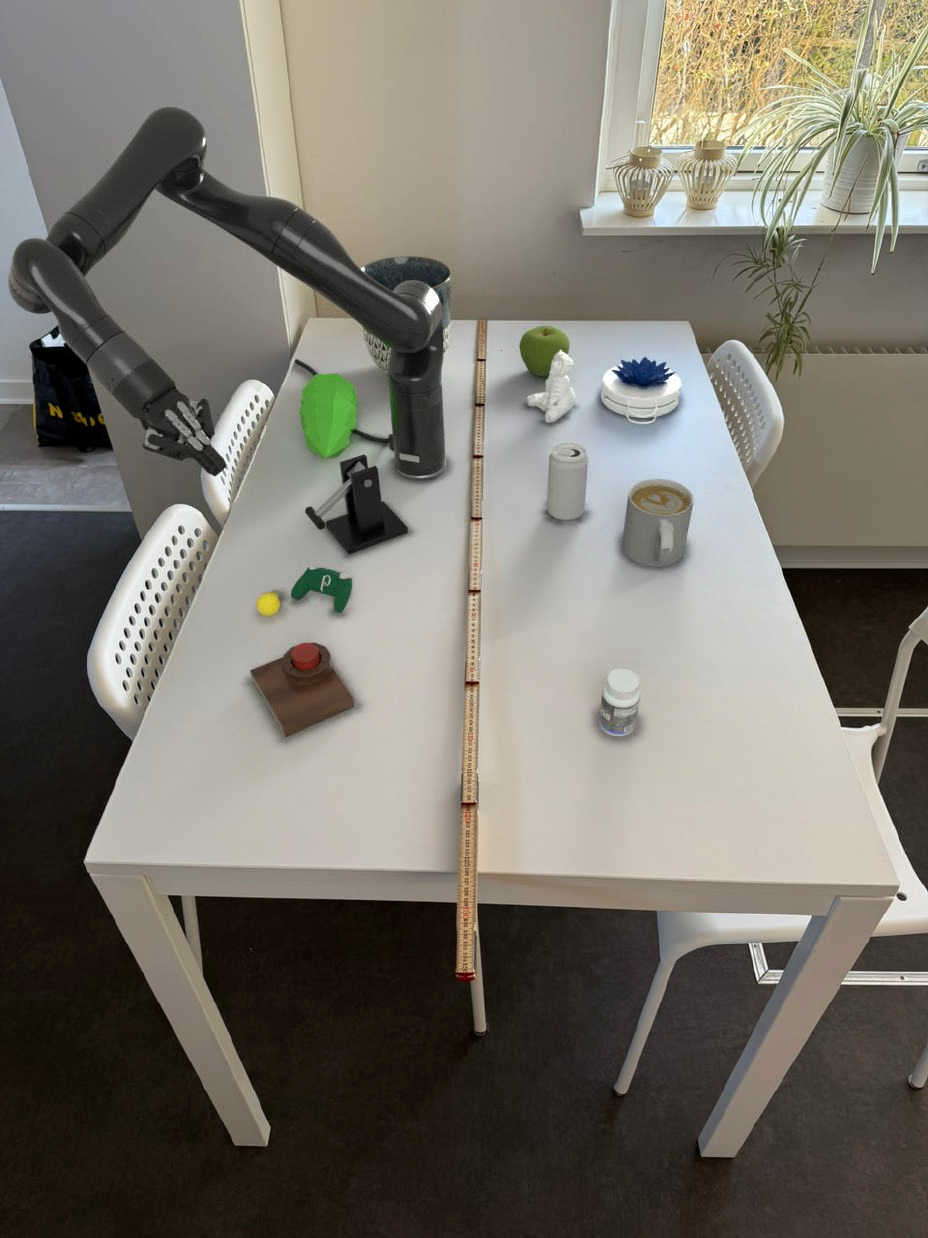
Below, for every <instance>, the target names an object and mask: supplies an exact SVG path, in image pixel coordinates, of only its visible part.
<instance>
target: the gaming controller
mask: <svg viewBox="0 0 928 1238" xmlns="http://www.w3.org/2000/svg"><path fill="white" fill-rule="evenodd" d="M290 591H291V592H290V597H291V599H293V600H296V601H299V600H302V599H303V598H304V597H305V596H306V595H307V594H308V593H310V592H311V591H312V592H313V591H314V592H316V593H320V594H323V595H326V596H329V597H332V598H334V599H333V609H334V612H335V613H338V614H341V613H342V612H343V611H344V610H345V608H346V607H347V604H348V602H349V600H350V598H351V595H352V591H353V578H352V576H351V575H349V574H348V573H343V572H339V571H336V570H333V569H330V568H326V567H320V566H319V565H317V564H311V563H310V564H309V565H308V567H307V568H306V570H305V571H304V572H303V574H302V575H301V576H299V578H298V579H297V581H295V584H294V585H293V586H292V589H291V590H290Z"/></svg>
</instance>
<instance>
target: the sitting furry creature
mask: <svg viewBox="0 0 928 1238" xmlns="http://www.w3.org/2000/svg"><path fill="white" fill-rule="evenodd" d="M575 369H576V365H575V364H574V359H572V358H571V356H569V354H568V355H567V354H565V353H563V352H562V351H561V350H560V352H558V353H556V354H555V356H554V359H553V360H552V363H551V370H550V372H549V373H550V375H549V376H548V377H547V379H546V380H545V392H537V393H532V394H530V395H528V396H527V398H526V401H527V406H528V407H531V408H532V407H535V408H539V410H541V411H542V412H545V414H544V420H545V422H546V423H547V424H551V423H554V422H557V421H558V420H559V419H560V418H561V417H563V416H564V415H566V414H568V413H567V412H568V411H570V410H571V409H572V408H573V407H574V404H575V402H576V399H577V396H576V394H575V391H574V389H573V387H572V383H571V381H570V377H569V376H568V375H569V374H570V373H571V371H574V370H575Z"/></svg>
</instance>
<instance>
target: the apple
mask: <svg viewBox="0 0 928 1238" xmlns="http://www.w3.org/2000/svg"><path fill="white" fill-rule="evenodd" d="M570 345H571V343H570V339H569V336H568V335H567V334H566V333H565V332H564V331H562V330H561V329H559V328H557V327H556V326H551V325H540V326H536V327H534V328H531V329H529V330H528V331H527V330H526V332H525V333H524V334H523V335H521V338H520V341H519V353H520V357H521V360H522V361H523V363H524V365H525V367H526V369H527V370H528V372H530V373H532V374H534V375H536V376H537V377H542V378H548V377H549V375H550V373H549V372H550V370H551V363H552V360H553V359H554V356H555V354H556V353H558V352H560V350H561V351H562V352H563V353H565V354H567V355H568V356H569V352H570V348H571V347H570Z"/></svg>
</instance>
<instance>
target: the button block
mask: <svg viewBox="0 0 928 1238" xmlns="http://www.w3.org/2000/svg"><path fill="white" fill-rule="evenodd" d="M302 643H303V642H302ZM302 643H300V644H302ZM310 643H311V644H314V645H315V646H316V647H317V648H318V652H319V657H320V661H319V663H318V665H317V666H316V667H314V668H312V669H310V670H299V669H297V668H296V667H295V666H294V664H293V660H292V655H291V653H292V650H293V649H294V648H295V647H296V646H297V645H298V644H297V645H293V646H291V647H290V648H289V649H288V650H287V651H286V652H285V653H284V654H283V655H282V657H279V658H277V659H275V660H272V661H270V662H267V663H265V664H262V665H259V666H257V667H254V668H252V669H250V670H249V672H250V675H251V679H252V682H253V683H254V686H255V687H256V689H257V691H258V692H259V694H260V696H261V697H262V700H263V701H264V703H265V705H266V706H267V709H268V710H269V711H270V714H271V716H272V717H273V719H274V720H275V722H276V724H277V725H278V727H279V730H280V731H281V732H282V734H283V736H284V737H285V738H288V737H289V736H292V735H295V734H297V733H298V732H301V731H303V730H306V729H308V728H311V727H312V726H314V725H315V726H316V725H317V724H319V723H321V722H324V721H326V720H328V719H330V718H333V717H335V716H337V715H340V714H341V713H344V712H346V711H348V710H351V709H354V708H355V702H354V697H353V695H352V693H351V691H350V690H349V689H348V687H347V686H346V684H345V683H344V682H343V680H342V678H341V677H340V675H339V673H338V672H337V671H336V669H335V667H333V660H332V655H331V653H330V651H329V650H328V648H327V647H326V645H322V644H320V643H317V642H310Z"/></svg>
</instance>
